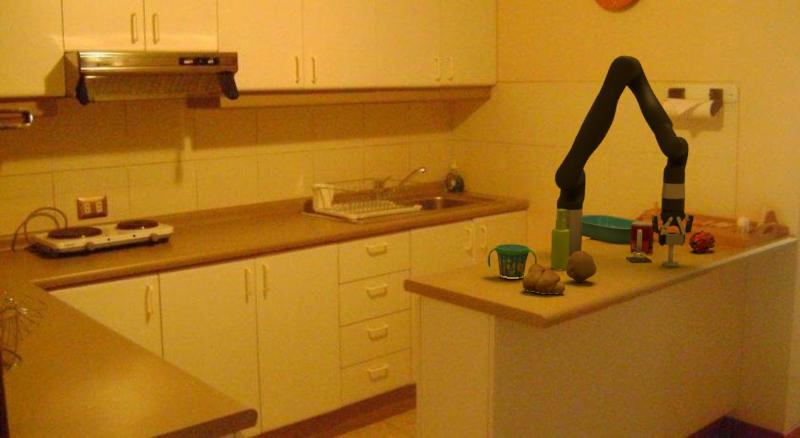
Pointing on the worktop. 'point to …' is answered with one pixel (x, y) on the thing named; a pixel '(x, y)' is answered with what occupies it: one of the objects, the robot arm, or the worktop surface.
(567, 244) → the soap dispenser
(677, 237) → the gray block
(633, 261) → the stand
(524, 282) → the bread roll
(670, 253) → the hub
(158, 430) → the worktop surface
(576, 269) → the natural sponge
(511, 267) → the snack cup
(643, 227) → the canned food
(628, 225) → the casserole dish
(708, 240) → the dragon fruit
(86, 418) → the worktop surface
